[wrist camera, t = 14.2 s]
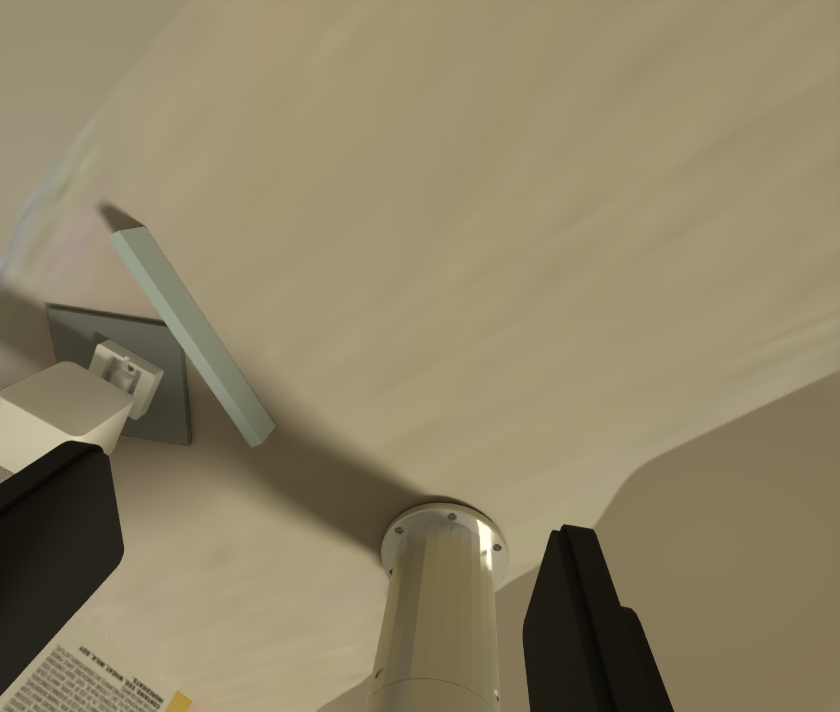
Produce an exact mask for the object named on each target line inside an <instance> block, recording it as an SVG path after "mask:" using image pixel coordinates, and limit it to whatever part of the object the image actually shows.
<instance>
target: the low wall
mask: <svg viewBox="0 0 840 712" xmlns="http://www.w3.org/2000/svg"><path fill="white" fill-rule="evenodd" d="M107 239H108V240H109V242H110V243H111V244H112V246H113V247H114V249H115V250H116V252H117V253H118V255H119V256H120V258H121V259H122V260H123V262H124V263H125V265H126V266H127V268H128V269H129V271H130V272H131V274H132V275H133V277H134V278H135V279H136V281H137V282H138V284H139V285H140V287H141V288H142V290H143V291H144V293H145V294H146V295H147V297H148V298H149V300H150V301H151V303H152V304H153V306H154V307H155V309H156V310H157V311H158V313H159V314H160V316H161V317H162V319H163V320H164V322H165V323H166V325H167V326H168V328H169V329H170V330H171V332H172V333H173V335H174V336H175V338H176V339H177V341H178V342H179V344H180V345H181V346H182V348H183V349H184V351H185V352H186V354H187V355H188V357H189V358H190V360H191V361H192V362H193V364H194V365H195V367H196V368H197V370H198V371H199V373H200V374H201V376H202V377H203V379H204V380H205V381H206V383H207V384H208V386H209V387H210V389H211V390H212V392H213V393H214V395H215V396H216V397H217V399H218V400H219V402H220V403H221V405H222V406H223V408H224V409H225V411H226V412H227V413H228V415H229V416H230V418H231V419H232V421H233V422H234V424H235V425H236V427H237V428H238V429H239V431H240V432H241V434H242V435H243V437H244V438H245V440H246V441H247V443H248V444H249V446H250V447H251V448H253V447H256V446H258V445H261V444H263V442H264V441H265V440H266V439H267V437H268V436H269V435H270V433H271V432H272V431H273V429H274V428H275V427H276V426H275V424H274V422H273V421H272V419H271V418H270V416H269V415H268V413H267V412H266V410H265V409H264V407H263V406H262V404H261V403H260V401H259V400H258V398H257V396H256V395H255V393H254V392H253V390H252V389H251V387H250V386H249V384H248V383H247V381H246V380H245V378H244V377H243V375H242V374H241V372H240V371H239V369H238V367H237V366H236V364H235V363H234V361H233V360H232V358H231V357H230V355H229V354H228V352H227V351H226V349H225V348H224V346H223V345H222V343H221V342H220V340H219V338H218V337H217V335H216V334H215V332H214V331H213V329H212V328H211V326H210V325H209V323H208V322H207V320H206V319H205V317H204V316H203V314H202V312H201V311H200V309H199V308H198V306H197V305H196V303H195V302H194V300H193V299H192V297H191V296H190V294H189V293H188V291H187V290H186V288H185V287H184V285H183V283H182V282H181V280H180V279H179V277H178V276H177V274H176V273H175V271H174V270H173V268H172V267H171V265H170V264H169V262H168V261H167V259H166V258H165V256H164V254H163V253H162V251H161V250H160V248H159V247H158V245H157V244H156V242H155V241H154V239H153V238H152V236H151V235H150V233H149V232H148V230H147V229H146V227H145V226H144V227H138V228H132V229H126V230H119V231H117V232H115V233H114V234H112V235H110V236H109V237H107Z"/></svg>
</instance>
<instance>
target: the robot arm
mask: <svg viewBox="0 0 840 712" xmlns="http://www.w3.org/2000/svg"><path fill="white" fill-rule="evenodd" d="M123 554H124V544H123V538H122V532H121V526H120V520H119V514H118V508H117V502H116V496H115V490H114V484H113V478H112V472H111V467H110V461H109V457H108V455H107V454H105V453H104V451H103V448H102V447H101V446H100V445H96V444H91V443H85V442H79V441H74V440H70V441H65V442H63V443H61V444H60V445H58V446H57V447H55V448H54V449H52V450H51V451H49V452H48V453H46V454H45V455H43V456H42V457H40V458H39V459H37V460H36V461H34V462H33V463H31V464H30V465H28V466H26V467H25V468H23V469H22V470H20V471H19V472H17V473H16V474H14V475H13V476H11V477H10V478H8V479H7V480H5V481H4V482H2V483H1V484H0V696H1V695H2V694H3V693H4V692H5V691H6V690H7V689H8V688H9V686H10V685H11V684H12V683H13V682H14V681H15V680H16V679H17V678H18V676H19V675H20V674H21V673H22V672H23V671H24V670H25V669H26V668H27V666H28V665H29V664H30V663H31V662H32V661H33V660H34V659H35V658H36V656H37V655H38V654H39V653H40V652H41V651H42V650H43V649H44V648H45V646H46V645H47V644H48V643H49V642H50V641H51V640H52V639H53V638H54V636H55V635H56V634H57V633H58V632H59V631H60V630H61V629H62V628H63V626H64V625H65V624H66V623H67V622H68V621H69V620H70V619H71V618H72V616H73V615H74V614H75V613H76V612H77V611H78V610H79V609H80V608H81V606H82V605H83V604H84V603H85V602H86V601H87V600H88V599H89V598H90V596H91V595H92V594H93V593H94V592H95V591H96V590H97V589H98V588H99V586H100V585H101V584H102V583H103V582H104V581H105V580H106V579H107V578H108V576H109V575H110V574H111V573H112V572H113V571H114V570H115V569H116V567H117V566H118V565H119V563H120V561H121V560H122V557H123ZM381 557H382V563H383V566H384V569H385V571H386V573H387V574H388V576H389V578H390V579H391V582H390V587H389V592H388V597H387V602H386V607H385V612H384V617H383V622H382V627H381V632H380V637H379V642H378V647H377V652H376V657H375V662H374V667H373V672H372V677H371V683H370V688H369V692H368V698H367V702H366V707H365V712H500V694H499V675H498V657H497V639H496V619H495V602H494V601H495V600H494V591H495V590H496V589H497V588H498V587H499V586H500V584H501V583H502V581H503V580H504V578H505V575H506V573H507V569H508V562H509V561H508V550H507V546H506V542H505V540H504V538H503V536H502V534H501V532H500V531H499V529H498V528H497V527H496V526H495V524H494V523H492V522H491V521H490V520H489V519H488V518H486V517H485V516H484V515H482V514H480V513H478V512H477V511H475V510H473V509H470V508H467V507H465V506H461V505H457V504H452V503H428V504H423V505H419V506H416V507H413V508H411V509H409V510H407V511H405V512H403V513H402V514H400V515H399V516H398V517H396V518H395V519H394V521H393V522H392V523H391V524H390V525H389V527H388V529H387V531H386V532H385V535H384V539H383V542H382V548H381ZM523 648H524V657H525V666H526V675H527V685H528V693H529V703H530V712H674V710H673V708H672V705H671V702H670V700H669V697H668V694H667V692H666V689H665V687H664V684H663V681H662V678H661V676H660V673H659V670H658V668H657V665H656V662H655V660H654V657H653V654H652V652H651V649H650V647H649V644H648V641H647V639H646V636H645V633H644V631H643V628H642V625H641V623H640V621H639V619H638V616H637V614H636V613H635V612H634V611H633V610H632V609H631V608H628V607H622V606H621V605H620V602H619V600H618V597H617V594H616V591H615V588H614V585H613V582H612V579H611V577H610V573H609V570H608V568H607V565H606V562H605V559H604V556H603V553H602V550H601V548H600V544H599V541H598V539H597V536H596V534H595V532H594V530H593V529H590V528H584V527H578V526H572V525H566V524H564V525H563V526H562V527H561V529H560V531H556V530H552V532H551V534H550V537H549V540H548V544H547V547H546V550H545V554H544V557H543V560H542V564H541V567H540V570H539V574H538V577H537V580H536V584H535V587H534V590H533V593H532V597H531V600H530V604H529V607H528V610H527V613H526V617H525V620H524V625H523Z"/></svg>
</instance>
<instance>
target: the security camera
mask: <svg viewBox="0 0 840 712" xmlns="http://www.w3.org/2000/svg"><path fill="white" fill-rule="evenodd" d="M128 364H129V365H130V366H132V367H133V368H134V370H133V371H131V370H130V369H129V368H128ZM163 373H164V371H163V370H162V369H161V368H159V367H157V366H155V365H154V364H152V363H150V362H148V361H147V360H145V359H143V358H142V357H140V356H138V355H136V354H135V353H133V352H131V351H130V350H128V349H126V348H124V347H123V346H121V345H119V344H117V343H116V342H114V341H112V340H110V339H109V340H107V341H105V342H102V343H100V344H98V345H97V347H96V350H95V353H94V356H93V358H92V361H91V364H90V367H89V370H86V369H85V368H83V367H81V366H79V365H77V364H76V363H73V362H68V361H65V362H60V363H58V364H56V365H53V366H51V367H49V368H47V369H45V370H43V371H40V372H38V373H36V374H34V375H32V376H30V377H27V378H25V379H23V380H21V381H19V382H17V383H14V384H12V385H10V386H8V387H6V388H4V389H2V390H0V466H2V467H4V468H5V469H7V470H9V471H11V472H13V473H15V474H16V473H17V472H19V471H20V470H22V469H23V468H25V467H26V466H28V465H30V464H31V463H33V462H34V461H36V460H37V459H39V458H40V457H42V456H43V455H45V454H46V453H48V452H49V451H51V450H52V449H54V448H55V447H57V446H58V445H60V444H61V443H63V442H65V441H70V440H74V441H79V442H85V443H91V444H96V445H100V446H101V447H102V448H103V451H104V453H105V454H107V455H108V456H109V455H110V454H111V453H112V452H113V450H114V448H115V445H116V443H117V441H118V438H119V436H120V433H121V431H122V429H123V426H124V424H125V421H126V419H127V417H128V416H129V417H131V418H132V419H134V420H137V419H138V418H140V417H141V416H142V415H144V414H145V413H146V412H147V410H148V408H149V405H150V403H151V401H152V399H153V396H154V394H155V392H156V389H157V387H158V385H159V383H160V380H161V378H162V376H163Z"/></svg>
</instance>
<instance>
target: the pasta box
mask: <svg viewBox="0 0 840 712" xmlns="http://www.w3.org/2000/svg"><path fill="white" fill-rule="evenodd" d="M191 702H192V701H191V700H189V699H188V698H187V697H186V696H184V695H183V694H182V693H180V692H179V691H178V690H177V689H175V688H174V687H173V686H172V685H170V684H169V683H168V682H166V681H165V680H164V679H163V678H161V677H160V676H159V675H157V674H156V673H155V672H154V671H152V670H151V669H150V668H148V667H147V666H146V665H145V664H143V663H142V662H141V661H140V660H138V659H137V658H136V657H134V656H133V655H132V654H131V653H129V652H128V651H127V650H125V649H124V648H123V647H122V646H120V645H119V644H118V643H116V642H115V641H114V640H113V639H111V638H110V637H109V636H108V635H106V634H105V633H104V632H102V631H101V630H100V629H99V628H97V627H96V626H95V625H93V624H92V623H91V622H90V621H88V620H87V619H86V618H84V617H83V616H82V615H81V614H79V613H78V612H76V613H75V614H74V615H73V616H72V618H71V619H70V620H69V621H68V622H67V623H66V624H65V625H64V626H63V628H62V629H61V630H60V631H59V632H58V633H57V634H56V635H55V636H54V638H53V639H52V640H51V641H50V642H49V643H48V644H47V645H46V646H45V648H44V649H43V650H42V651H41V652H40V653H39V654H38V655H37V656H36V658H35V659H34V660H33V661H32V662H31V663H30V664H29V665H28V666H27V668H26V669H25V670H24V671H23V672H22V673H21V674H20V675H19V676H18V678H17V679H16V680H15V681H14V682H13V683H12V684H11V685H10V686H9V688H8V689H7V690H6V691H5V692H4V693H3V694H2V695H1V696H0V712H186V711H187V709H188V708H189V706H190V704H191Z"/></svg>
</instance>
